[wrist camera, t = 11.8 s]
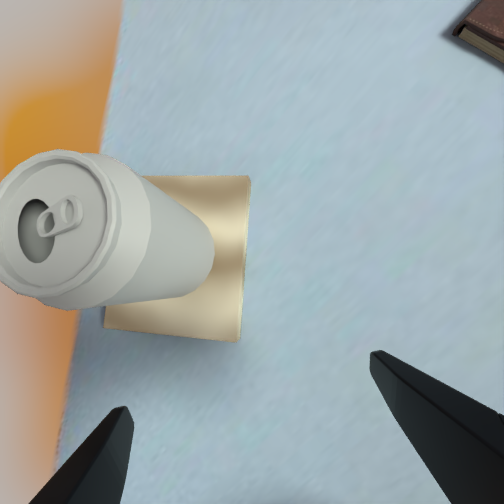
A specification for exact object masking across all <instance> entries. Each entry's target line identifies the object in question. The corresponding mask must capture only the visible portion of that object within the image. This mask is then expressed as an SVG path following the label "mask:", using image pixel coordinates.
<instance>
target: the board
mask: <svg viewBox="0 0 504 504" xmlns="http://www.w3.org/2000/svg"><path fill="white" fill-rule="evenodd" d="M142 177H143V178H145V179H146V180H148V181H149V182H150V183H152V184H153V185H155V186H156V187H157V188H159V189H160V190H162V191H163V192H164V193H166V194H167V195H168V196H170V197H171V198H173V199H174V200H175V201H177V202H178V203H180V204H181V205H182V206H184V207H185V208H187V209H188V210H189V211H191V212H192V213H193V214H195V215H196V216H198V217H199V218H200V219H201V220H202V221H203V222H204V223H205V225H206V226H207V227H208V228H209V231H210V233H211V235H212V237H213V240H214V250H215V256H214V260H213V265H212V269H211V271H210V272H209V274H208V276H207V278H206V280H205V281H204V282H203V283H202V284H201V285H200V286H199V287H198V288H197V289H196V290H195V291H193V292H191V293H189V294H187V295H184V296H182V297H176V298H168V299H160V300H151V301H143V302H135V303H126V304H118V305H110V306H106V310H105V318H104V325H103V328H108V329H117V330H126V331H135V332H144V333H154V334H163V335H172V336H181V337H190V338H199V339H208V340H218V341H227V342H237V341H238V340H239V339H240V332H241V318H242V304H243V290H244V276H245V261H246V247H247V233H248V219H249V205H250V191H251V181H250V179H249V176H142Z"/></svg>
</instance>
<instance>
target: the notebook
mask: <svg viewBox="0 0 504 504" xmlns="http://www.w3.org/2000/svg"><path fill="white" fill-rule="evenodd" d="M466 24H467V25H466ZM465 25H466V26H465ZM464 26H465V27H464ZM463 27H464V29H463V31H462V33H461V34H460V35H459V36H458V37H459V38H461V39H463V40H465V41H466V42H468V43H470V44H471V45H473V46H475V47H477V48H478V49H480V50H482V51H483V52H485V53H487V54H488V55H490V56H492V57H494V58H495V59H497V60H499V61H500V62H502V63H504V0H481V1H480V2H479V3H478V4H477V5H476V6H475V8H474V9H473V10H472V11H471V12H470V13H469V14H468V15H467V16H466V17H465V18H464V19H463V20H462V21H461V22H460V23H459V24H458V25H457V26H456V28H455V29H454V31H453V34H452V35H454V36H455V35H456V34H457V33H458V32H459V31H460V30H461V29H462V28H463Z"/></svg>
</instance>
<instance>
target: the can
mask: <svg viewBox="0 0 504 504" xmlns="http://www.w3.org/2000/svg"><path fill="white" fill-rule="evenodd" d="M214 256H215V250H214V240H213V237H212V235H211V233H210V231H209V228H208V227H207V226H206V225H205V223H204V222H203V221H202V220H201V219H200V218H199V217H198V216H196V215H195V214H193V213H192V212H191V211H189V210H188V209H187V208H185V207H184V206H182V205H181V204H180V203H178V202H177V201H175V200H174V199H173V198H171V197H170V196H168V195H167V194H166V193H164V192H163V191H162V190H160V189H159V188H157V187H156V186H155V185H153V184H152V183H150V182H149V181H148V180H146V179H145V178H143V177H142V176H141V175H139V174H138V173H137V172H135V171H134V170H132V169H131V168H130V167H128V166H127V165H125V164H123V163H121V162H119V161H117V160H115V159H114V158H112V157H110V156H108V155H101V154H92V153H83V154H81V153H79V152H76V151H68V150H59V149H56V150H52V151H48V152H43V153H39V154H37V155H34V156H33V157H31V158H29V159H27V160H26V161H24V162H22V163H20V164H19V165H17V166H16V167H15V168H14V169H13V170H12V171H11V172H10V173H9V174H8V175H7V176H6V177H5V178H4V179H3V180H2V182H1V183H0V281H1V282H2V283H3V284H5V285H6V286H8V287H9V288H10V289H12V290H13V291H14V292H16V293H17V294H21V295H25V296H29V297H33V298H36V299H38V300H39V301H40V302H42V303H43V304H44V305H47V306H51V307H55V308H59V309H63V310H77V309H85V308H93V307H101V306H110V305H118V304H126V303H135V302H143V301H151V300H160V299H168V298H176V297H182V296H184V295H187V294H189V293H191V292H193V291H195V290H196V289H197V288H198V287H199V286H200V285H201V284H202V283H203V282H204V281H205V280H206V278H207V276H208V274H209V272H210V271H211V269H212V265H213V260H214Z"/></svg>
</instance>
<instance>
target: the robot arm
mask: <svg viewBox="0 0 504 504" xmlns="http://www.w3.org/2000/svg"><path fill="white" fill-rule="evenodd" d="M370 373H371V375H372V377H373V379H374V381H375V383H376V385H377V386H378V388H379V390H380V392H381V394H382V396H383V398H384V399H385V401H386V403H387V405H388V407H389V409H390V411H391V412H392V414H393V416H394V417H395V419H396V421H397V422H398V424H399V425H400V427H401V428H402V430H403V431H404V433H405V434H406V436H407V437H408V439H409V440H410V442H411V444H412V445H413V447H414V448H415V450H416V451H417V453H418V454H419V456H420V457H421V459H422V460H423V462H424V463H425V465H426V466H427V468H428V469H429V471H430V472H431V474H432V475H433V477H434V478H435V480H436V481H437V483H438V484H439V486H440V487H441V489H442V490H443V492H444V493H445V495H446V496H447V498H448V499H449V501H450V502H451V504H504V415H502V414H500V413H499V414H498V413H497V412H496V411H495V410H493V409H491V408H489V407H487V406H485V405H483V404H481V403H480V402H478V401H476V400H474V399H472V398H470V397H468V396H467V395H465V394H463V393H461V392H459V391H457V390H455V389H454V388H452V387H450V386H448V385H446V384H444V383H442V382H441V381H439V380H437V379H435V378H433V377H431V376H429V375H427V374H426V373H424V372H422V371H420V370H418V369H416V368H414V367H413V366H411V365H409V364H407V363H405V362H403V361H401V360H400V359H398V358H396V357H394V356H392V355H390V354H388V353H386V352H385V351H382V350H378V351H373V352H371V353H370ZM133 432H134V421H133V419H132V417H131V414H130V412H129V410H128V408H127V407H126V406H121V407H117V408H114V409H112V410H111V411H110V413H109V414H108V415H107V416H106V417H105V418H104V419H103V420H102V422H101V423H100V424H99V425H98V426H97V427H96V428H95V429H94V431H93V432H92V433H91V434H90V435H89V436H88V437H87V438H86V440H85V441H84V442H83V443H82V444H81V445H80V446H79V447H78V449H77V450H76V451H75V452H74V453H73V454H72V455H71V456H70V458H69V459H68V460H67V461H66V462H65V463H64V464H63V465H62V467H61V468H60V469H59V470H58V471H57V472H56V473H55V474H54V476H53V477H52V478H51V479H50V480H49V481H48V482H47V483H46V485H45V486H44V487H43V488H42V489H41V490H40V491H39V492H38V494H37V495H36V496H35V497H34V498H33V499H32V500H31V501H30V503H29V504H120V501H121V497H122V493H123V489H124V485H125V480H126V475H127V469H128V463H129V457H130V451H131V444H132V438H133Z"/></svg>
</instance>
